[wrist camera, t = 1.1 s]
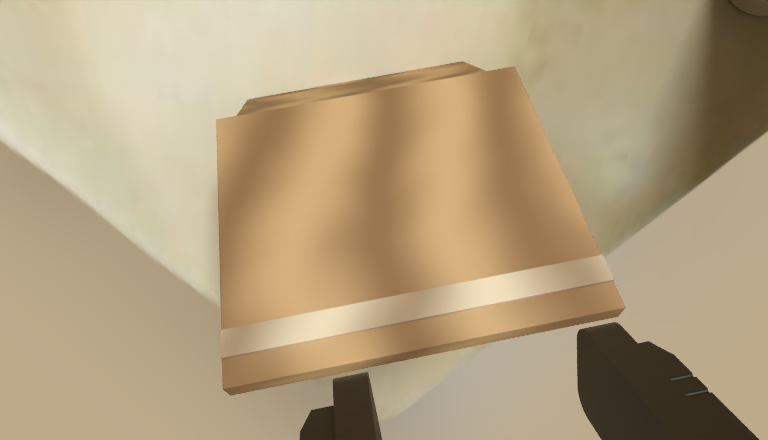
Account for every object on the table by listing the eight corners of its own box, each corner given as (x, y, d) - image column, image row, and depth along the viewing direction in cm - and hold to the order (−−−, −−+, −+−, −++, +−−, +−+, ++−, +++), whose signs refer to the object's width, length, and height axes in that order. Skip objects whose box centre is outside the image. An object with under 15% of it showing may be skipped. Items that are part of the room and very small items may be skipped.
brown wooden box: (462, 61, 39) (507, 80, 30) (478, 231, 45) (520, 291, 36) (247, 99, 39) (226, 130, 29) (290, 267, 44) (284, 338, 35)
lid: (511, 80, 30) (514, 64, 29) (617, 316, 22) (626, 306, 21) (222, 132, 29) (215, 117, 28) (230, 395, 22) (221, 388, 21)
